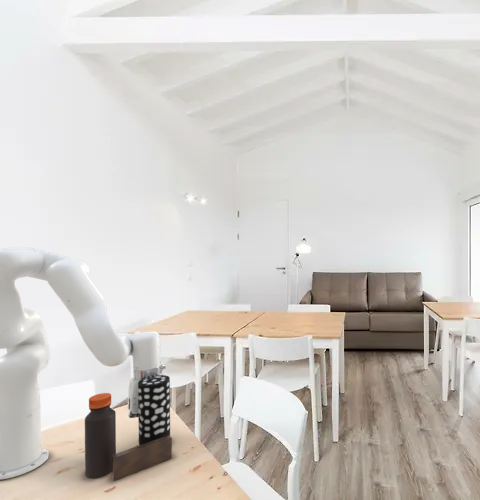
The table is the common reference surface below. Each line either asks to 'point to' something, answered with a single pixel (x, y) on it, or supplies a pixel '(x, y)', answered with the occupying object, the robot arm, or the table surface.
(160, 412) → the white-spotted black cylinder
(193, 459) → the table surface
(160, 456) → the bar
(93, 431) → the bottle
